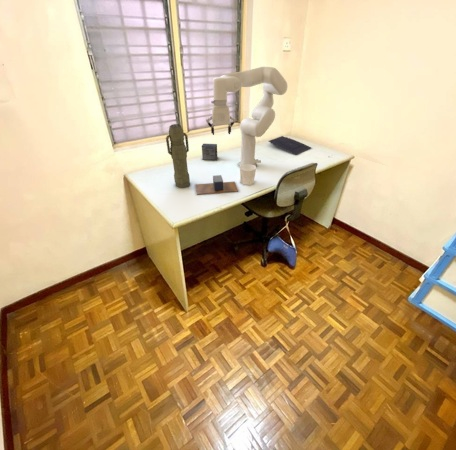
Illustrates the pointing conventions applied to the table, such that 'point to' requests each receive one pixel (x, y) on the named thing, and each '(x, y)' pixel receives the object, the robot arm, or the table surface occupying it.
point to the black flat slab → (289, 145)
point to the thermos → (178, 155)
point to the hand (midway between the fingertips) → (221, 133)
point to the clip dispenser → (218, 182)
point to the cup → (247, 174)
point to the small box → (209, 151)
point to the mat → (210, 189)
